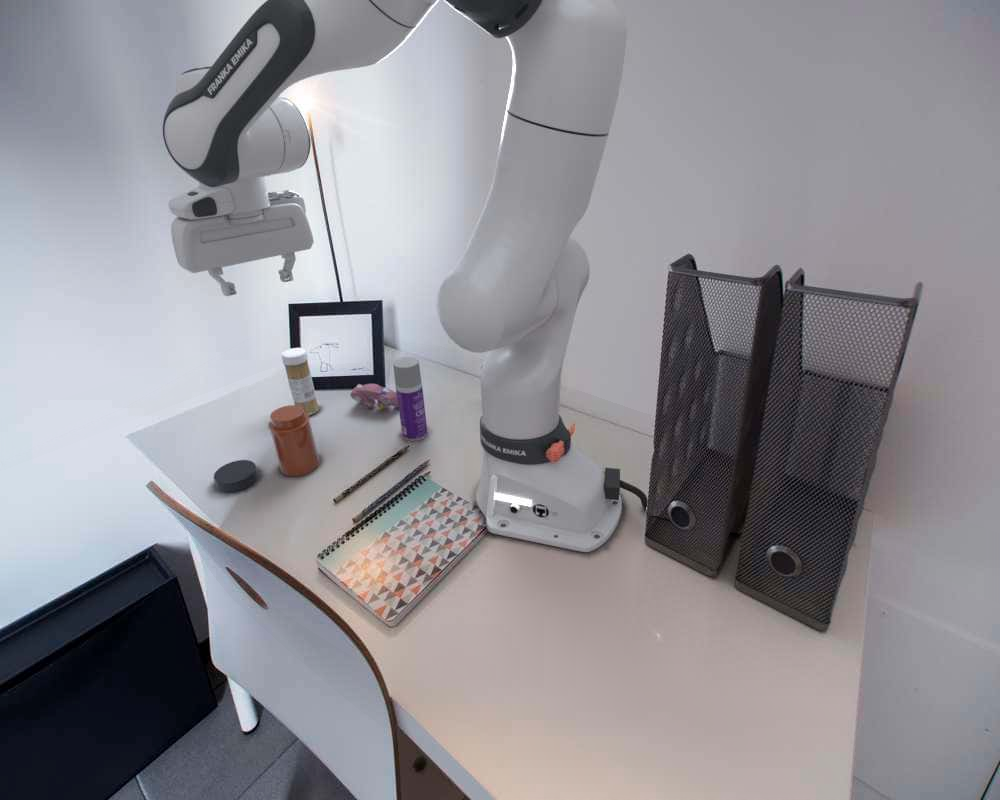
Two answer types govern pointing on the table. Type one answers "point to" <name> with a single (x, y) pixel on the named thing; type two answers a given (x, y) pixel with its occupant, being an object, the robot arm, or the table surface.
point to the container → (410, 398)
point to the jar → (293, 440)
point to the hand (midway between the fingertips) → (259, 287)
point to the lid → (236, 476)
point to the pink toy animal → (374, 396)
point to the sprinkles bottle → (300, 379)
